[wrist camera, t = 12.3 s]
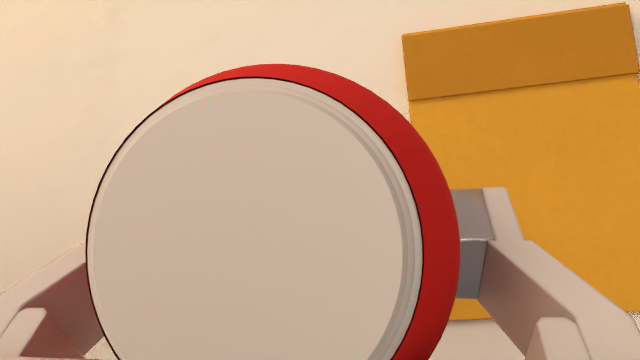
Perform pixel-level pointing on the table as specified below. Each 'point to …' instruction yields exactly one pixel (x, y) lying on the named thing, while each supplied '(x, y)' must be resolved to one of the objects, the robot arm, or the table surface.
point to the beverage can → (273, 226)
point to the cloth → (542, 132)
